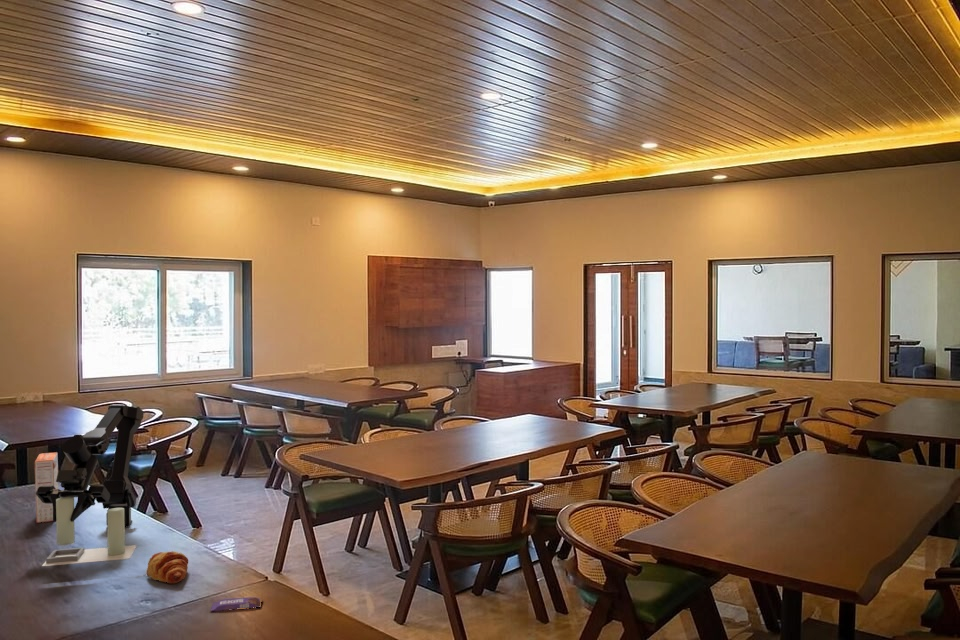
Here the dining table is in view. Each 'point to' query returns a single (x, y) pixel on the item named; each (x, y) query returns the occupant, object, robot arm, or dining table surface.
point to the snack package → (236, 603)
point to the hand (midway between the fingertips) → (62, 521)
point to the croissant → (168, 567)
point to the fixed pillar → (115, 531)
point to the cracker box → (45, 483)
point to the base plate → (85, 555)
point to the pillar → (65, 521)
